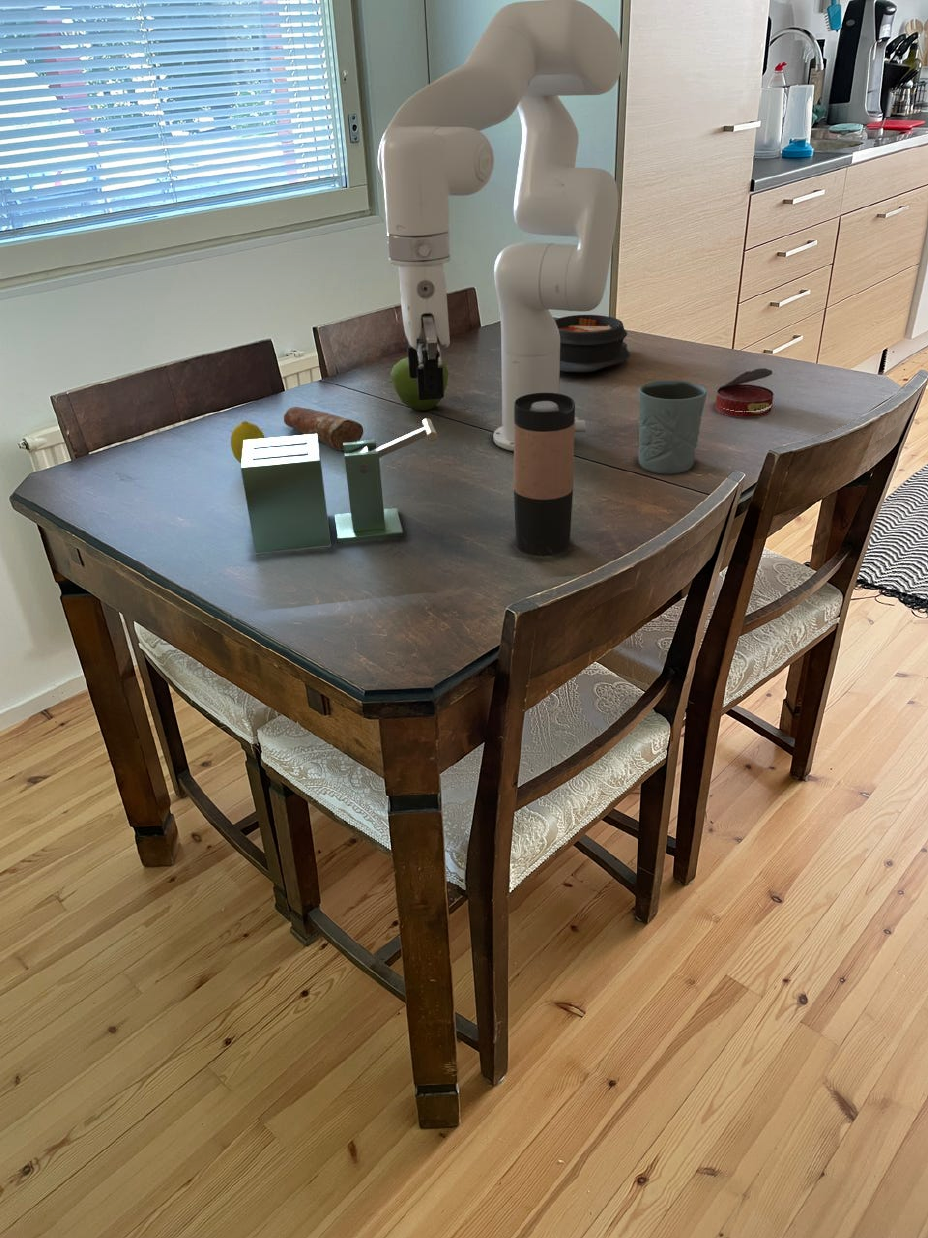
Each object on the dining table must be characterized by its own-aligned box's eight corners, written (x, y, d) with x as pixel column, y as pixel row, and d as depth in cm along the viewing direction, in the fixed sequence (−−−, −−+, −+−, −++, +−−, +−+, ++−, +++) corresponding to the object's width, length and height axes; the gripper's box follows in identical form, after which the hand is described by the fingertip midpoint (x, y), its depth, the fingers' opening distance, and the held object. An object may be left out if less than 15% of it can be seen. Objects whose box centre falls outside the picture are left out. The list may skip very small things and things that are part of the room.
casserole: (565, 344, 208) (566, 305, 204) (645, 352, 201) (648, 312, 196) (520, 375, 189) (520, 333, 185) (606, 385, 182) (608, 342, 177)
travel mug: (510, 536, 127) (509, 393, 116) (565, 532, 127) (569, 390, 117) (518, 562, 120) (517, 414, 110) (576, 558, 121) (581, 410, 110)
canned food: (723, 440, 167) (701, 392, 163) (726, 415, 175) (706, 370, 171) (785, 416, 161) (764, 367, 157) (786, 392, 169) (766, 344, 165)
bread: (336, 457, 154) (332, 425, 151) (279, 429, 167) (275, 399, 164) (367, 447, 157) (364, 416, 154) (309, 420, 170) (306, 391, 167)
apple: (432, 394, 181) (429, 343, 175) (460, 408, 173) (459, 355, 168) (383, 406, 176) (379, 353, 171) (410, 420, 168) (407, 366, 163)
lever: (434, 428, 127) (427, 413, 125) (440, 442, 122) (433, 426, 121) (354, 464, 127) (347, 449, 126) (357, 479, 123) (349, 464, 122)
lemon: (275, 463, 153) (268, 416, 148) (258, 476, 148) (250, 428, 144) (246, 460, 154) (238, 413, 150) (228, 472, 150) (220, 425, 146)
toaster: (328, 519, 133) (317, 432, 127) (331, 550, 125) (320, 459, 118) (257, 526, 132) (242, 439, 125) (255, 558, 124) (240, 467, 117)
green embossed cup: (628, 471, 145) (633, 396, 138) (640, 448, 153) (645, 376, 147) (693, 478, 142) (701, 401, 135) (703, 454, 150) (710, 381, 143)
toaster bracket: (397, 515, 134) (391, 434, 127) (403, 539, 127) (397, 455, 121) (335, 521, 133) (325, 440, 126) (338, 546, 126) (328, 461, 120)
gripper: (461, 258, 105) (465, 405, 114) (439, 235, 120) (444, 367, 128) (395, 262, 104) (404, 410, 113) (381, 238, 119) (390, 371, 127)
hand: (426, 387), depth 121 cm, fingers open, 9 cm apart
